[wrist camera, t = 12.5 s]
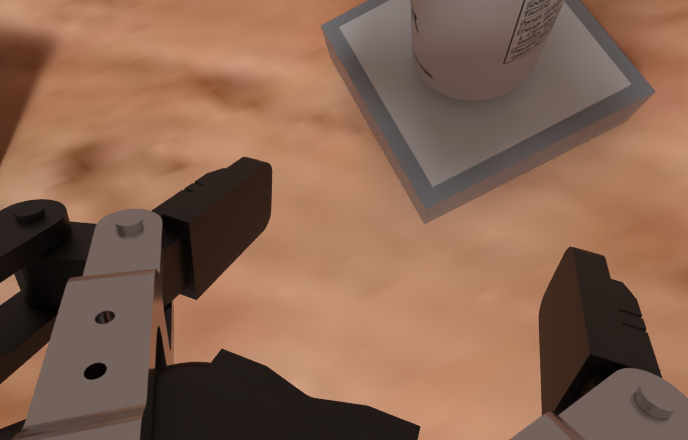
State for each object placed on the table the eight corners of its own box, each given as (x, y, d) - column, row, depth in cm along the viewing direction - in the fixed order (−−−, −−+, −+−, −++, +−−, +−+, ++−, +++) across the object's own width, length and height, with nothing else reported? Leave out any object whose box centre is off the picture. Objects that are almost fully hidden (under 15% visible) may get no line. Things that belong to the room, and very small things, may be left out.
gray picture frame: (330, 57, 27) (319, 23, 24) (504, -35, 27) (516, -82, 24) (424, 224, 24) (426, 208, 21) (625, 121, 23) (657, 89, 20)
